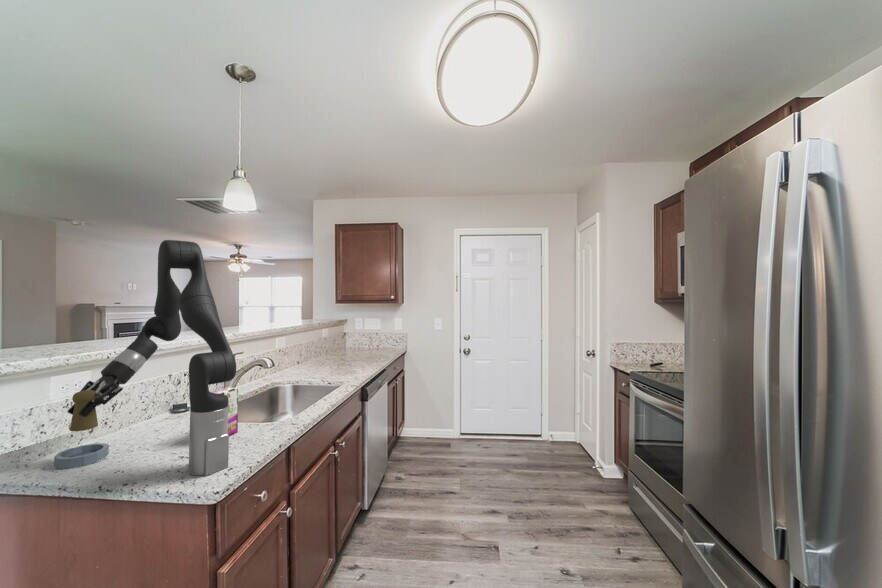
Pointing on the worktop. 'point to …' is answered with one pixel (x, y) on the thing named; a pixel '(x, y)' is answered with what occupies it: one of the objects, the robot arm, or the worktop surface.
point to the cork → (80, 402)
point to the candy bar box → (231, 408)
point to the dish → (81, 455)
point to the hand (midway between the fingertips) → (76, 414)
